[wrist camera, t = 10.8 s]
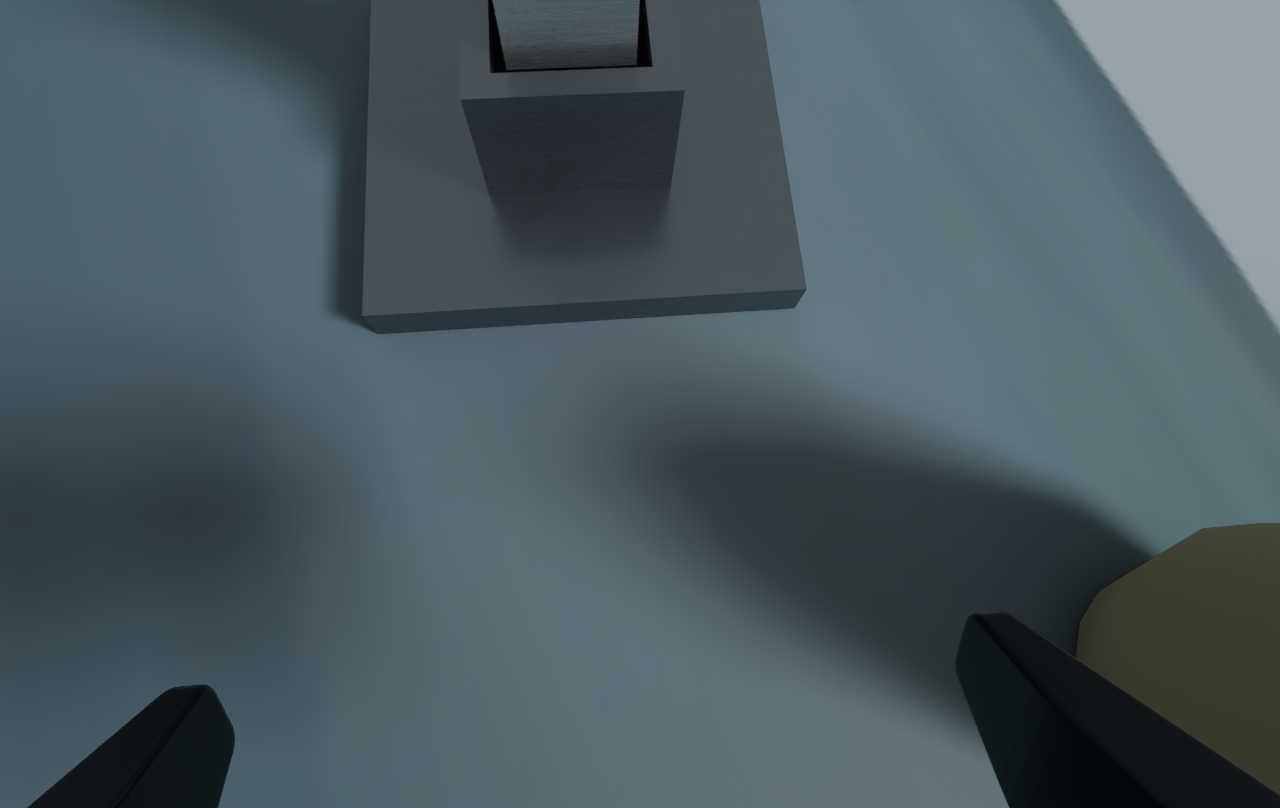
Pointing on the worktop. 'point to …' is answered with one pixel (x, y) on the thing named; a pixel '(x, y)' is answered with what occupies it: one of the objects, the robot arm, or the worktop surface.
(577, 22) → the block
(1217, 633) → the squeeze bottle
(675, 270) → the stand
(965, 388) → the worktop surface
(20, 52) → the worktop surface
